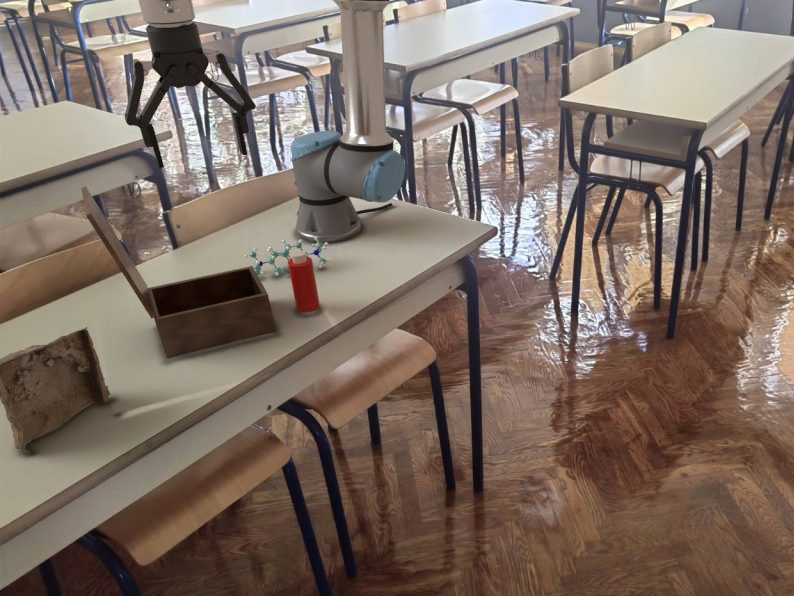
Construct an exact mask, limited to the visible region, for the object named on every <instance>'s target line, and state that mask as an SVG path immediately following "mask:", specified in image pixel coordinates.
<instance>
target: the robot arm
mask: <svg viewBox="0 0 794 596" xmlns="http://www.w3.org/2000/svg"><path fill="white" fill-rule="evenodd" d="M332 2H334V3H335V5H336V6H337V7H338V8H339V11H340V12H339V15H340V32H341V34H340V35H341V51H342V54H341V55H342V70H343V72H342V73H343V87H344V88H343V90H344V92H343V93H344V108H345V109H344V110H345V129H346V130H345V132H344V133H343V134H341V133H340V132H339V131H336V130H320V131H313V132H310V133H309V132H308V133H305V134H303V135H300V136H298V137H296V138H295V139H293V141H292V142H291V144H290V153H291V163H292V168H293V173H294V178H295V184H296V189H297V194H298V200H299V205H298V210H297V214H296V225H295V227H296V234H297V236H298V237H299V238H300V239H302V240H303V241H306V242H310V243H314V244H316V243H317V240H315V239H314V238H315V237H318V242H319V241H320V242H322V244H325V243H326V242H327V243H328V244H331V243H338V242H342V241H345V240H348V239H350V238H353V237H354V236H356V235H357V234H359V233H360V232H361V229H362V225H361V224H362V223H361V219H360V216H359V215H363V214H367V213H375V212H379V211H382V210H386V209H388V208H391V207H393V203H392V202H390V203H387V202H389V201H391V200H392V199H394V197H395V196H396V195H397V194H398V192H399V190H400V189H401V187H402V184H403V182H404V178H405V172H406V165H405V160H404V158H403V156H402V154H401V153H400V152H398V151H397V150H395V149H394V138H393V137H392V136H391V135H390V134H389V133H388V132H387V115H386V114H387V113H386V112H387V110H386V80H385V79H386V77H385V76H386V75H385V74H386V73H385V43H384V41H385V40H384V39H385V37H384V10H385V9H386V8H387V6H388V5H389V4H390V3H391V0H332ZM138 5H139V8H140V13H141V16H142V20H143V21H144V22H145V23H146V24H147V25H146V28H145V32H146V36H147V39H148V44H149V47H150V51H151V60H140V59H139V58H134V59H133V60H132V69H133V78H132V82H131V87H130V91H129V96H128V100H127V104H126V108H125V112H124V121H125V122H126V124H127V125H128V126H131V127H132V126H135V127H138V128H139V129H140V133H141V137H142V140H143V144H144V145H145V147H146V148H152V149H153V153H154V157H155V160H156V164H157V166H158V168H159V169H164V168H165V165H164V160H163V157H162V153H161V150H160V147H159V142H158V138H157V135H156V130H155V127H154V126H153V124H152V123H151V121H152V120H153V117H154V115H155V113H156V112H157V110H158V108H159V106H160V105H161V103H162V101H163V100H164V97H165V96H166V94H167V93H168V91H170V88H171V87H174V88H176V89H181V88H185V87H197V86H198V85H199V84H201V83H202V84H203V85H205V86H206V87H207V88H208V89H210V90H211V91H212V92H213V93H214V94H215V95H216V96H218V98H220V99H221V100H223V101H224V102H225V103H226V104H227V105H229V106H230V107H231V108H232V109H233V110H234V111H235V112H231V117H232V121H233V126H234V131H235V136H236V141H237V145H238V151H239V152H240V154H242V156H247V155H248V150H247V146H246V141H245V134H249V133H250V132H249V131H250V129H249V128H250V127H249V124H248V119H247V115H248V113H249V111H253V110H255V109H256V106H257V105H256V103H255V102H254V100H253V99H252V98H251V97H250V95H249V93H248V92H247V91H246V89H245V88H244V87H243V85H242V84H241V82H240V81H239V80H238V78H237V77H236V76H235V74H234V73H233V71H232V70H231V69H230V67H229V63H228V61H227V58H226V55H225V54H224V53H223V52H222V51H220V50H216V51H215V52H214V53H210V54H205V52H204V50H203V46H202V40H201V36H200V32H199V27H198V24H196V22H194V20H195V18H196V13H195V9H194V3H193V0H138ZM209 64H212V65H213V67H215V69H219V70H220V71H221V73H222V74H223V76H224V77H225V78H226V80H227V81H228V82H229V84H230V85H231V86H232V88H233V89H234V91H235V92H236V94H237V95H238V96H239V97H240V99H241V100H242V102H241V103H239V102H238V101H237V100H236V99H235V98H234V97H232V96H231V95H230V94H229V93H228V92H226V90H224V89H223V88H222V87H221V86H220V85H219V84H218V83H216V82H215V81H213V79H211V78H210V77H209V76H208V75H207V74H206V71H207V69H208V67H209ZM151 70H153V71H154V72H155V73H156V74H158V75H159V78H158V80H157V81H156V85H155V87H154V89H153V91H152V93H151V94H150V96H149V98H148V99H147V102H146V103H145V105H144V107H143V109H142V110H141V112H140V114H139V116H137V115H138V110H139V106H140V101H141V97H142V93H143V90H144V89H143V88H144V84H145V77H147V76H149V74H150V71H151ZM351 198H353V199H359V200H362V201H365V202H367V203H368V202H369V203H372V202H373V203H379V204H380V203H386V204H385V205H382V206H379V207H373V208H366V209H361V210H356V209H355V206H354V204H353V202H352V200H351Z"/></svg>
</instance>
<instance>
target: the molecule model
mask: <svg viewBox="0 0 794 596" xmlns="http://www.w3.org/2000/svg"><path fill="white" fill-rule="evenodd" d="M314 239H315V240H317V243H312V244H311V247H313V248H314V251H313V252H309V253H308V252H307V251H304V250H303V244H302V243H303V242H304V239H302V238H300V239H299V240H298V241H297V242H296V243H295V245H290V244H287V243H286V242H287V241H286V239H284V238H283V239H282V240H281V243H282V244H284V250H282V251H281V252H277V251H274V250H273V247H272V246H268V249H267V252H268V253H270V256H269V257H270V258H269V259H268V261H262V260H259V259H258V258H257V252H258V250H259V248H258V247H256V246H254V247H253V251H251V252H250V253H249V254H248V253H245V254H244V255H243V256H244V258H248V257H251V258H252V259H255V260H256V261H255V263H256V264H254V266H253V268H254V270H255V272H256V273H257V275H258V276H260V275H261V276H264V275H265V271H262V267H263V265H265V264H268V263H269V265H273V267H274V268H275V269H274V275H275V276H279V275H280V274H282V271H286V272H289V267H288V265H286V267H285V268H282V269H281V268H280V267H277V266H276V265H275V262H276V261H275V260H276V259H277V258H278V257H280V256H282V258H286V259H287V262H288V261H289V260H290V259H291V258H292V257H291V256H290V251H291V250H292V248H297V249H300V251H304V252H305V254H306V256H308V257H309V256H310V255H314V256H315V257H316V258H317V259H319V263H320V265H319V266H318V267H319V269H323V267H324V265H326V263H327V262H332V258H331V257H328V258H327V259H326V258H324V257H323V258H322V257H321V256H320V253H322V250H324V251H325V250H327V246H329V243H327V242H326V243H322V242H320V241H319V242H318V237H315V238H314Z"/></svg>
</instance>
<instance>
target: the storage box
mask: <svg viewBox="0 0 794 596" xmlns="http://www.w3.org/2000/svg"><path fill="white" fill-rule="evenodd" d="M148 290H149V294H150V298H151V301H152V305H153V308H154V312H155V315H156V317H154V318H153V320H154V323H155V326H156V329H157V332H158V335H159V338H160V341H161V344H162V348H163V351H164V353H165V357H166V359H170V358H175V357H178V356H182V355H186V354H190V353H194V352H199V351H203V350H206V349H210V348H214V347H219V346H222V345H227V344H231V343H236V342H239V341H243V340H247V339H251V338H256V337H260V336H263V335H268V334H273V333H275V332H277V329H276V324H275V320H274V316H273V311H272V307H271V301H270V297H269V294H268V292H267V290H266V288H265V286H264V285H263V283H262V280H261V278H260V277H259V274H257V273H256V272H255V269H254V266H253V265H250V266H245V267H241V268H235V269H231V270H225V271H222V272H217V273H212V274H208V275H203V276H198V277H193V278H188V279H183V280H180V281H179V280H178V281H175V282H174V281H173V282H170V283H166V284H159V285H156V286H151V287H148Z"/></svg>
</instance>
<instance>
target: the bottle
mask: <svg viewBox="0 0 794 596" xmlns="http://www.w3.org/2000/svg"><path fill="white" fill-rule="evenodd" d="M305 252H306V251H304V250H303V251H302V250H295V251H293V252H292V253H291V257H290V258H291V259H290V258H289V261H288V260H287V266H288V267H289V271H288V272H289V277H290V280H291V288H292V293H293V298H294V302H295V303H294V304H295V308H296V310H297V311H298V312H300V313H311V312H312V313H313V312H315V311H317V310H318V309H319V308H321V303H320V298H319V293H318V292H319V291H318V286H317V281H316V275H315V270H314V269H315V268H314V264H313V259H312V257H311V256H309V255H308V256H306V254H305Z"/></svg>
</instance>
